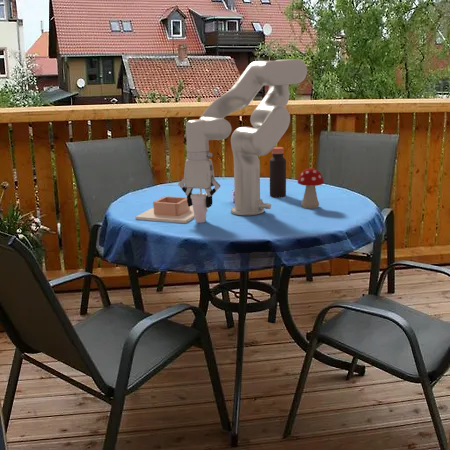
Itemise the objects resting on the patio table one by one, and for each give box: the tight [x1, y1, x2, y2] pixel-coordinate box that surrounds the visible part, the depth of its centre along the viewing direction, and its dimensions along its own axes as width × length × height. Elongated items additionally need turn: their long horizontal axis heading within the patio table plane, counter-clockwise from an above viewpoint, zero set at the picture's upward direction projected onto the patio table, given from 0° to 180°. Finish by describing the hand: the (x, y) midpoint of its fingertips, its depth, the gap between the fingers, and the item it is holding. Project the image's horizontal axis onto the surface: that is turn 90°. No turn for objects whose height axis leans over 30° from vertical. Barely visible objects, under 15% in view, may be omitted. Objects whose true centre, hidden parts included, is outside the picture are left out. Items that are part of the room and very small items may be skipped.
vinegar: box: [269, 146, 287, 198], centre depth 246 cm, size 7×7×20 cm
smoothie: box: [190, 189, 208, 223], centre depth 212 cm, size 6×6×14 cm
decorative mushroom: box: [297, 167, 325, 210], centre depth 227 cm, size 10×9×15 cm
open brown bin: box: [135, 196, 195, 224], centre depth 223 cm, size 20×20×6 cm
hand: (199, 205), depth 212 cm, fingers closed on smoothie, 6 cm apart
